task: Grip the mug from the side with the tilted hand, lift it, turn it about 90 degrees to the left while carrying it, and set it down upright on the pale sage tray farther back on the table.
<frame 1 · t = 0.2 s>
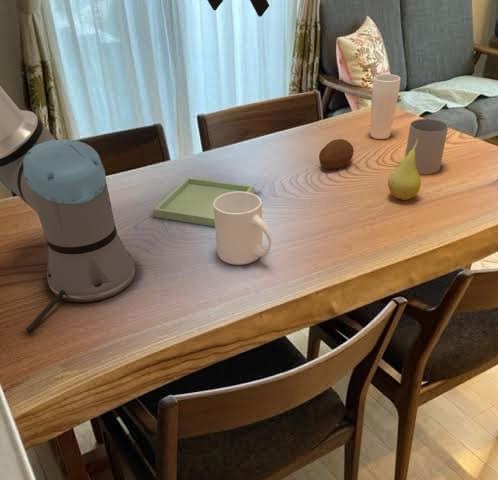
hand: (240, 8, 106), 35 cm above the table, tool tilted 35°, fingers open, 13 cm apart
mug: (246, 257, 101), on the table
drinking glass: (379, 137, 145), on the table
cup: (421, 167, 129), on the table
potato: (334, 166, 132), on the table
tray: (206, 204, 118), on the table
fruit: (402, 197, 118), on the table
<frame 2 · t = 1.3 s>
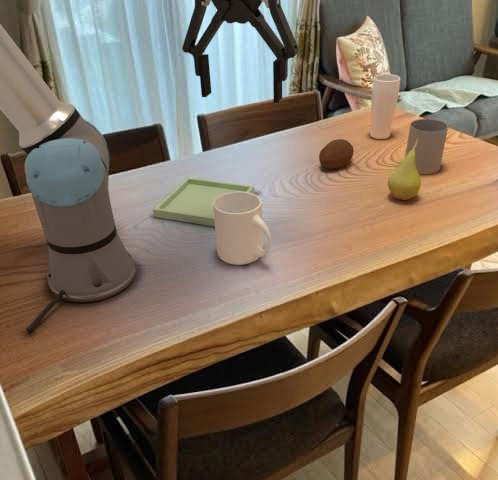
hand: (241, 97, 96), 25 cm above the table, tool pointing down, fingers open, 13 cm apart
nothing on the table moved.
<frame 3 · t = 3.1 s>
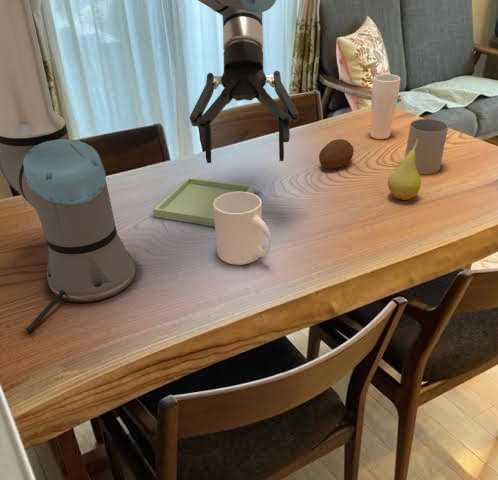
hand: (245, 159, 100), 15 cm above the table, tool tilted 45°, fingers open, 13 cm apart
nothing on the table moved.
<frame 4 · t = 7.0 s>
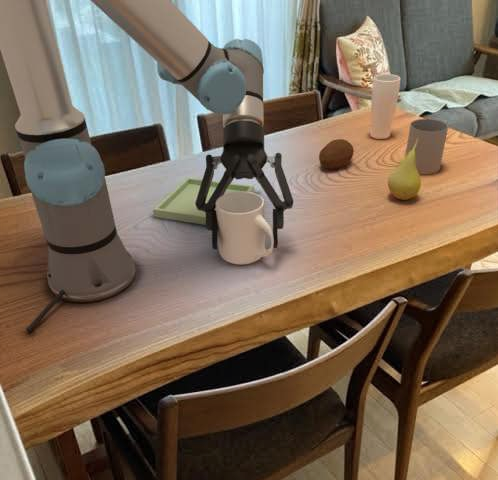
hand: (245, 247, 96), 4 cm above the table, tool tilted 45°, fingers closed on mug, 10 cm apart
mug: (248, 257, 101), on the table, touching gripper
everything else where it was.
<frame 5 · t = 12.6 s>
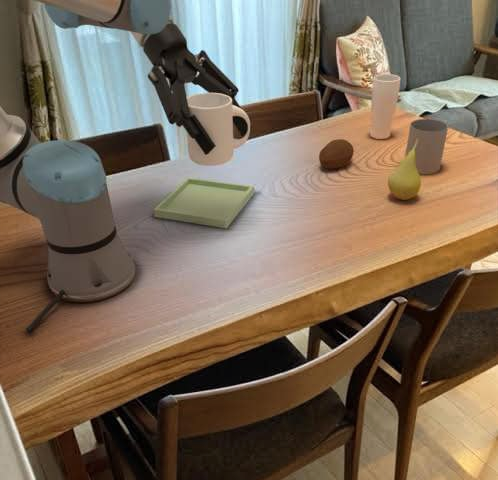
hand: (229, 141, 99), 18 cm above the table, tool tilted 45°, fingers closed on mug, 10 cm apart
mug: (220, 157, 104), point 13 cm above the table, touching gripper
everything else where it was.
when the fingers open (4 cm above the table, at t = 18.2 s): mug stays where it is, resting on tray.
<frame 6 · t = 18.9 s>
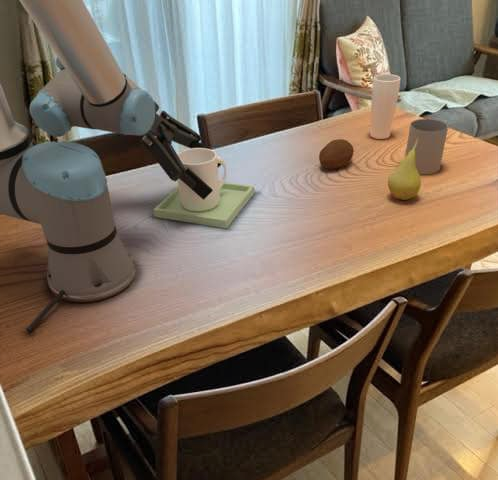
hand: (213, 180, 114), 6 cm above the table, tool tilted 45°, fingers open, 13 cm apart
mug: (206, 201, 118), resting on tray
everything else where it was.
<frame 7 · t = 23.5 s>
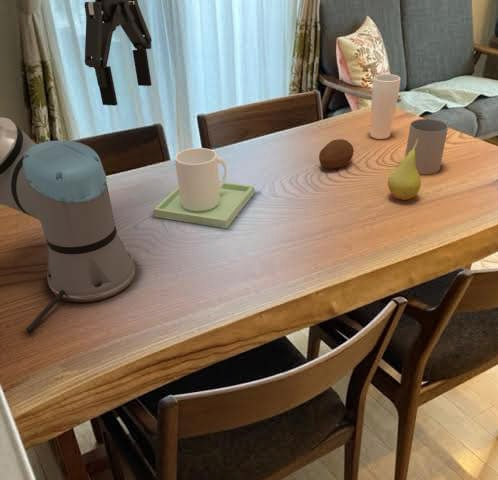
hand: (128, 94, 104), 23 cm above the table, tool pointing down, fingers open, 13 cm apart
nothing on the table moved.
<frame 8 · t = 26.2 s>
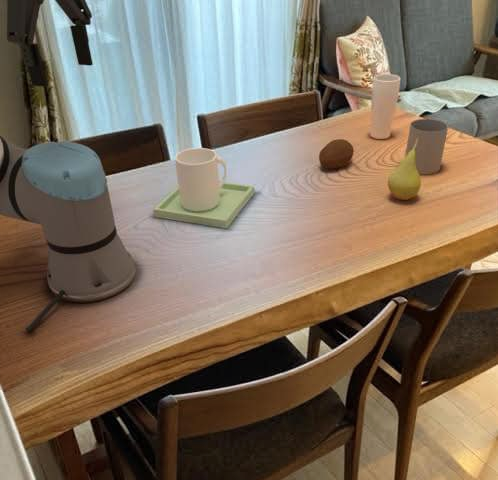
hand: (64, 74, 97), 29 cm above the table, tool pointing down, fingers open, 13 cm apart
nothing on the table moved.
at the end: mug inside the target area on the tray (0.7 cm from its centre), point 0.4 cm above the tray's base; mug tilted 0°; the gripper is holding nothing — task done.
